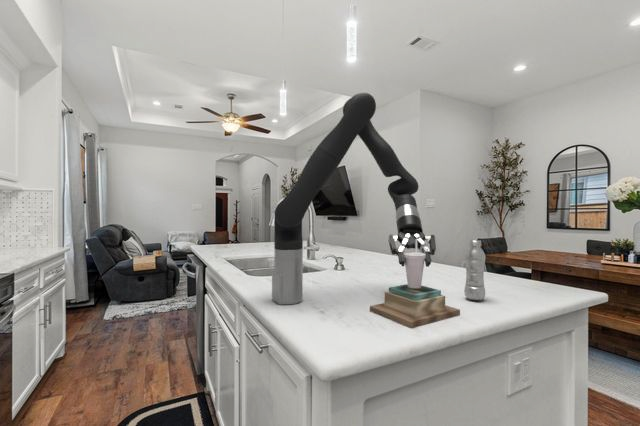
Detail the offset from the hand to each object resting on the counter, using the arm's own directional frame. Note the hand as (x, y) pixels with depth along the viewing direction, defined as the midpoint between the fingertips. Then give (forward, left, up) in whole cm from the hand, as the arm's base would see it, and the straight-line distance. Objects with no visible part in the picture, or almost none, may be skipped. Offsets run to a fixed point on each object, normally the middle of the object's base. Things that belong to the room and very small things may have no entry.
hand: (415, 264), depth 92 cm
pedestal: (+1, +1, -14) cm, 14 cm away
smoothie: (+1, +1, -7) cm, 7 cm away
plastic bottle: (+29, 0, -15) cm, 32 cm away
